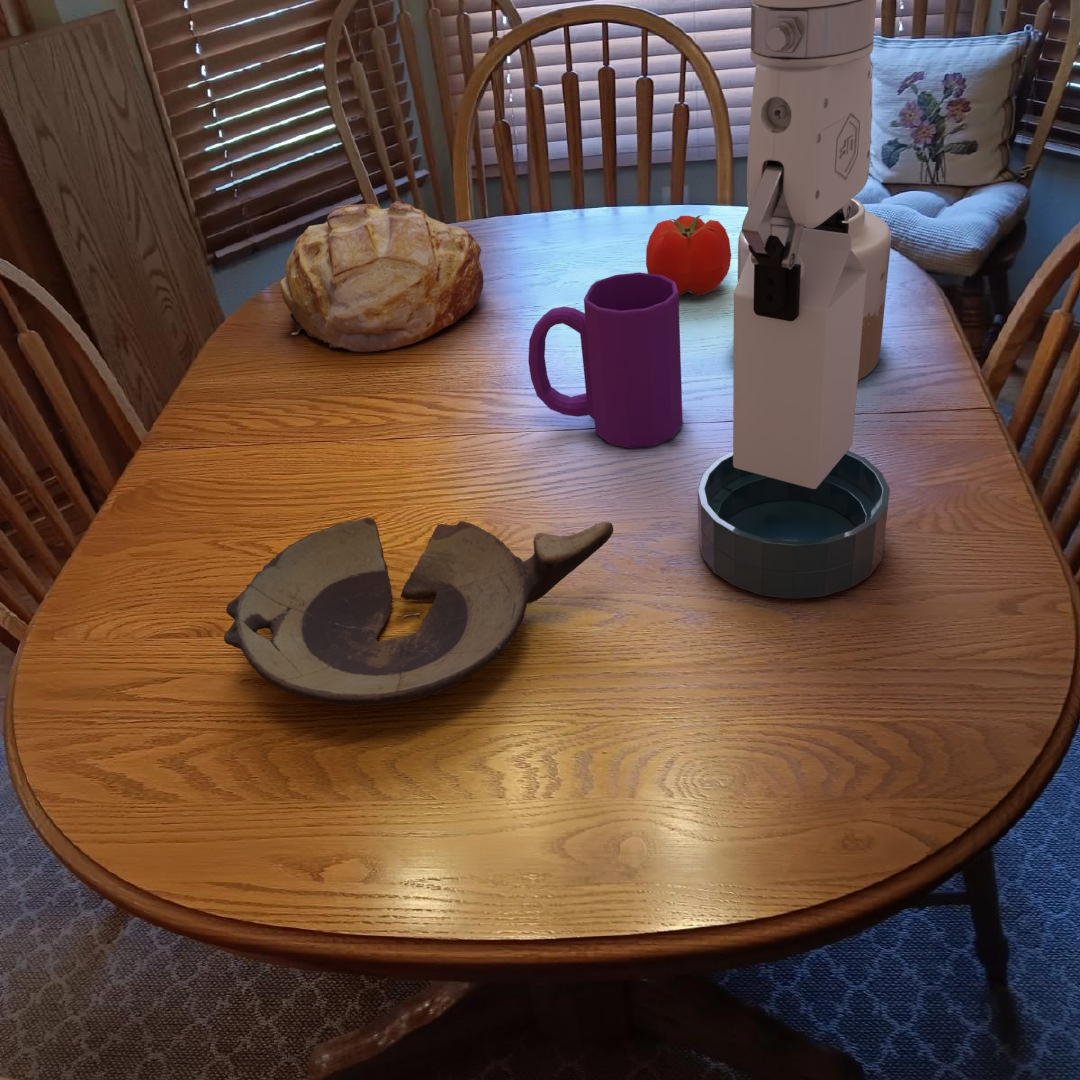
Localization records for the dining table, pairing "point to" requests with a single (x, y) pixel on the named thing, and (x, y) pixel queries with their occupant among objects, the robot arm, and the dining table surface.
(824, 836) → the dining table surface
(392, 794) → the dining table surface
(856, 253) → the vase
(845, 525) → the shallow pet bowl
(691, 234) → the tomato
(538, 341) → the mug
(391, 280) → the bread
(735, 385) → the milk carton
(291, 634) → the broken pan
